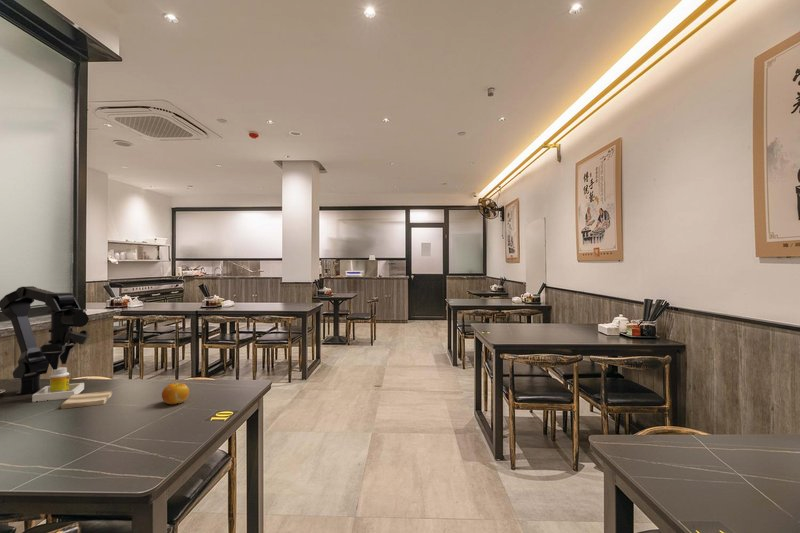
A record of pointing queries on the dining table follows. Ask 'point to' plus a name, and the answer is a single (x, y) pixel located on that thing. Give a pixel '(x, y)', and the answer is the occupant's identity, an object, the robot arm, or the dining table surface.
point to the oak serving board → (86, 399)
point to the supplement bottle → (59, 380)
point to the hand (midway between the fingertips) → (59, 366)
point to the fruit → (175, 393)
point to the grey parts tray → (57, 393)
